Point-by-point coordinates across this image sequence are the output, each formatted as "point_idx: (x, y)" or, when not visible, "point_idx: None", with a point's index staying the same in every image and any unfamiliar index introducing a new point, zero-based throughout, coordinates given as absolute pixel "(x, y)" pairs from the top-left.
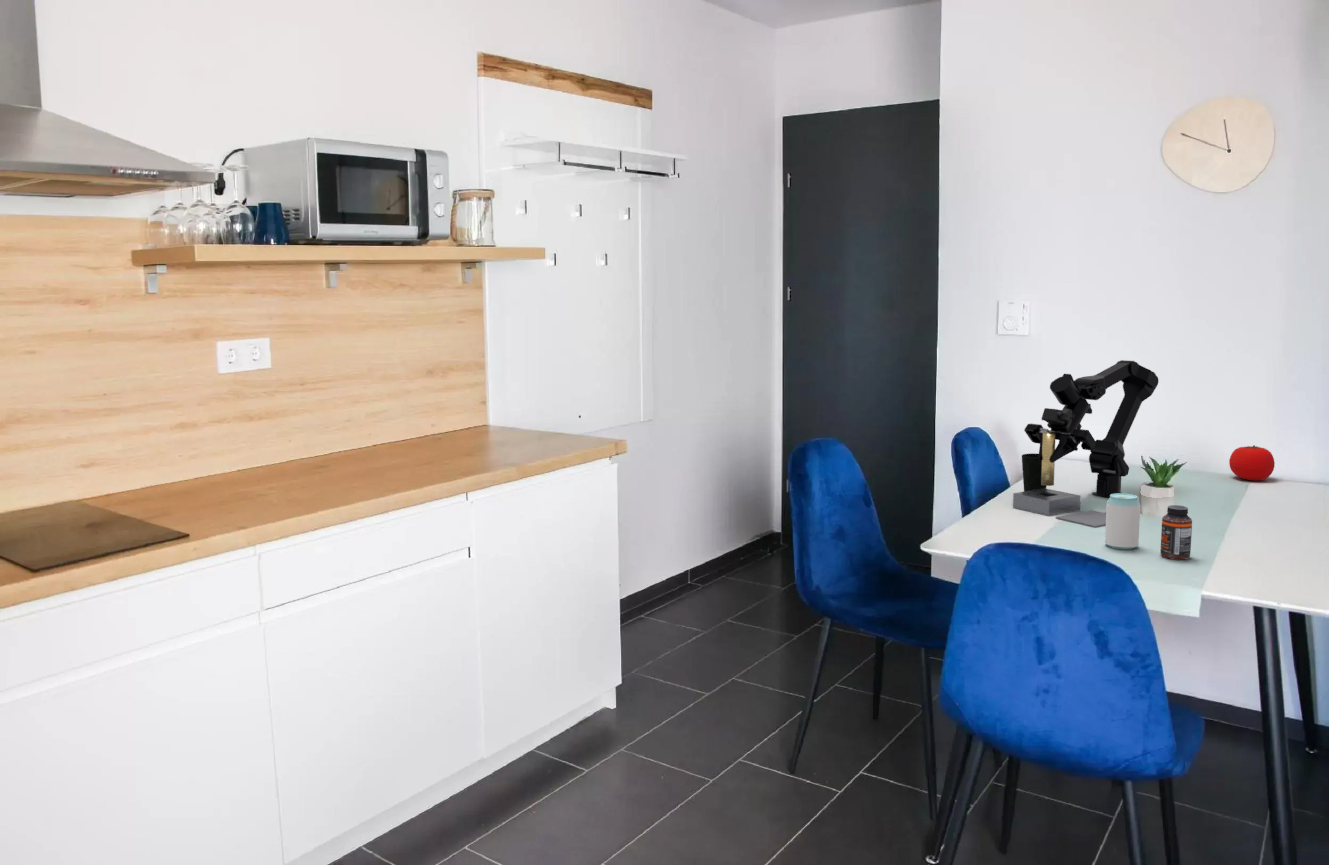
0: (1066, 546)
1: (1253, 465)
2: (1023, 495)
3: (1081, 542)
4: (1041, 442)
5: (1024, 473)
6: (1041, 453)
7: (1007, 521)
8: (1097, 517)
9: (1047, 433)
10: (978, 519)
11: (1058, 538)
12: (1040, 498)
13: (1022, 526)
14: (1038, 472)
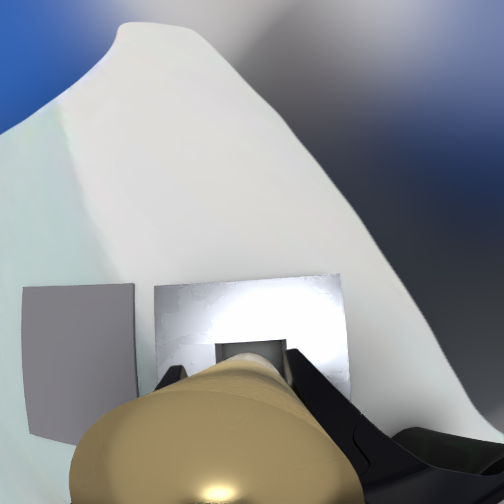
0: (13, 132)
1: None
2: (287, 278)
3: (3, 169)
4: (388, 460)
5: (466, 438)
6: (295, 382)
7: (191, 146)
8: (69, 380)
9: (206, 488)
10: (250, 106)
11: (36, 150)
12: (204, 292)
13: (133, 145)
14: None
